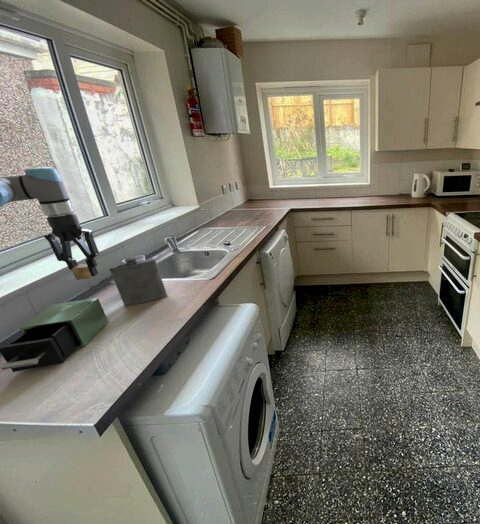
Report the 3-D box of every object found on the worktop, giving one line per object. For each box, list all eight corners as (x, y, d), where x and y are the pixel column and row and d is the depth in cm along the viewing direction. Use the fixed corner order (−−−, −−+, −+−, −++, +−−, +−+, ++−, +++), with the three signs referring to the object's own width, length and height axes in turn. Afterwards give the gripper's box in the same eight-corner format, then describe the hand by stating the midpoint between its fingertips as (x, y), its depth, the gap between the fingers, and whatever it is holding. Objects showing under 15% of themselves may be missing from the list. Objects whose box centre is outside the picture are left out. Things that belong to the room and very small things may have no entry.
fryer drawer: (51, 374, 75) (37, 350, 72) (-1, 384, 72) (-18, 359, 69) (89, 336, 90) (79, 315, 87) (47, 343, 87) (35, 321, 84)
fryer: (84, 346, 86) (71, 320, 83) (35, 355, 84) (19, 327, 80) (108, 322, 99) (98, 297, 95) (66, 328, 96) (53, 304, 92)
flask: (166, 297, 113) (152, 255, 106) (123, 307, 107) (104, 263, 101) (167, 294, 116) (153, 252, 109) (125, 303, 111) (107, 260, 104)
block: (76, 280, 105) (71, 268, 103) (84, 275, 109) (79, 264, 107) (91, 278, 106) (86, 267, 104) (97, 273, 110) (93, 262, 108)
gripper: (96, 210, 104) (118, 269, 113) (38, 214, 100) (66, 275, 109) (83, 214, 97) (108, 276, 106) (21, 219, 93) (52, 283, 102)
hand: (87, 275), depth 107 cm, fingers closed on block, 4 cm apart
